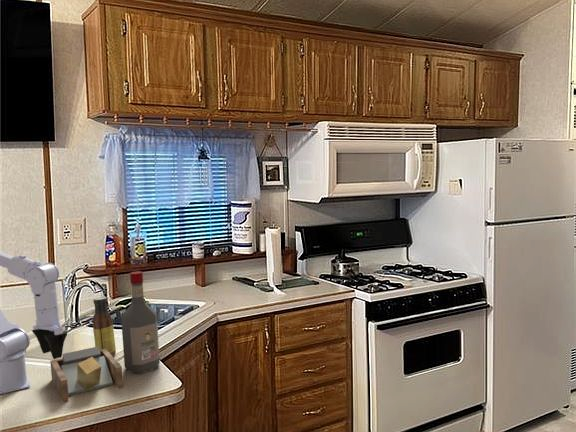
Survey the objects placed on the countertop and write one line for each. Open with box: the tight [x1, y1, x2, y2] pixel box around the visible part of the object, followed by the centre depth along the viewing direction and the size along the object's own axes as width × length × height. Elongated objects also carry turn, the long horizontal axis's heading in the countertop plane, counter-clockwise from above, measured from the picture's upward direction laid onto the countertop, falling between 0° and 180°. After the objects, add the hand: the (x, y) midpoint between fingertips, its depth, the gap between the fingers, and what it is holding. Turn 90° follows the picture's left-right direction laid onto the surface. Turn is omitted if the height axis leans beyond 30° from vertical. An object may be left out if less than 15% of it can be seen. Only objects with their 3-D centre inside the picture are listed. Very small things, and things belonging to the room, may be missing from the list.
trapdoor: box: [61, 346, 114, 397], centre depth 152 cm, size 14×12×3 cm
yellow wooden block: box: [77, 357, 101, 392], centre depth 147 cm, size 4×4×7 cm
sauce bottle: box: [92, 296, 117, 357], centre depth 172 cm, size 7×6×20 cm
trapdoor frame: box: [49, 349, 124, 403], centre depth 152 cm, size 18×16×6 cm
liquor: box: [121, 270, 161, 374], centre depth 161 cm, size 9×9×30 cm
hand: (52, 355), depth 147 cm, fingers open, 7 cm apart
